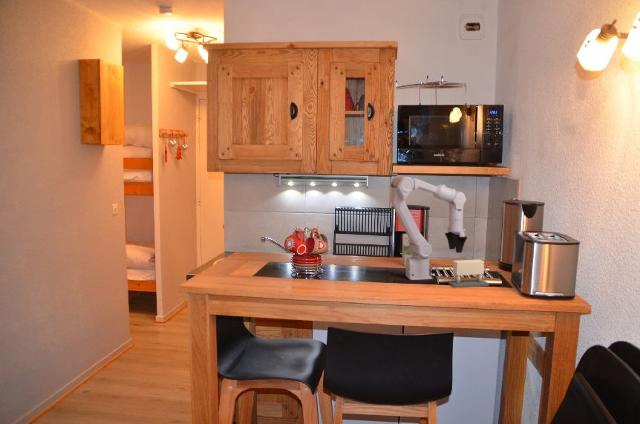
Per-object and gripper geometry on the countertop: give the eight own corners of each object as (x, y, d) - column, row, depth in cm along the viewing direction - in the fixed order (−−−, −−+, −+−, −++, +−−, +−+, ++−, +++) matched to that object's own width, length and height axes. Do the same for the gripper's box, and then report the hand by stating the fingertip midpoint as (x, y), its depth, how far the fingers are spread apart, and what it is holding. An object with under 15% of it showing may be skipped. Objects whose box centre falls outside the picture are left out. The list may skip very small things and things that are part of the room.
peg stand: (454, 287, 192) (454, 276, 192) (447, 283, 199) (448, 272, 199) (488, 286, 194) (489, 274, 193) (481, 281, 201) (481, 270, 200)
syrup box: (414, 263, 235) (414, 233, 233) (415, 266, 229) (415, 235, 228) (402, 263, 236) (402, 233, 234) (403, 265, 230) (403, 235, 228)
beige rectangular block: (479, 271, 199) (479, 259, 198) (483, 274, 195) (484, 261, 194) (453, 272, 197) (453, 260, 197) (456, 275, 193) (457, 262, 193)
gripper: (472, 221, 203) (471, 253, 204) (458, 216, 217) (458, 247, 219) (455, 221, 202) (455, 254, 204) (442, 217, 216) (442, 247, 218)
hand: (455, 250), depth 211 cm, fingers open, 7 cm apart
